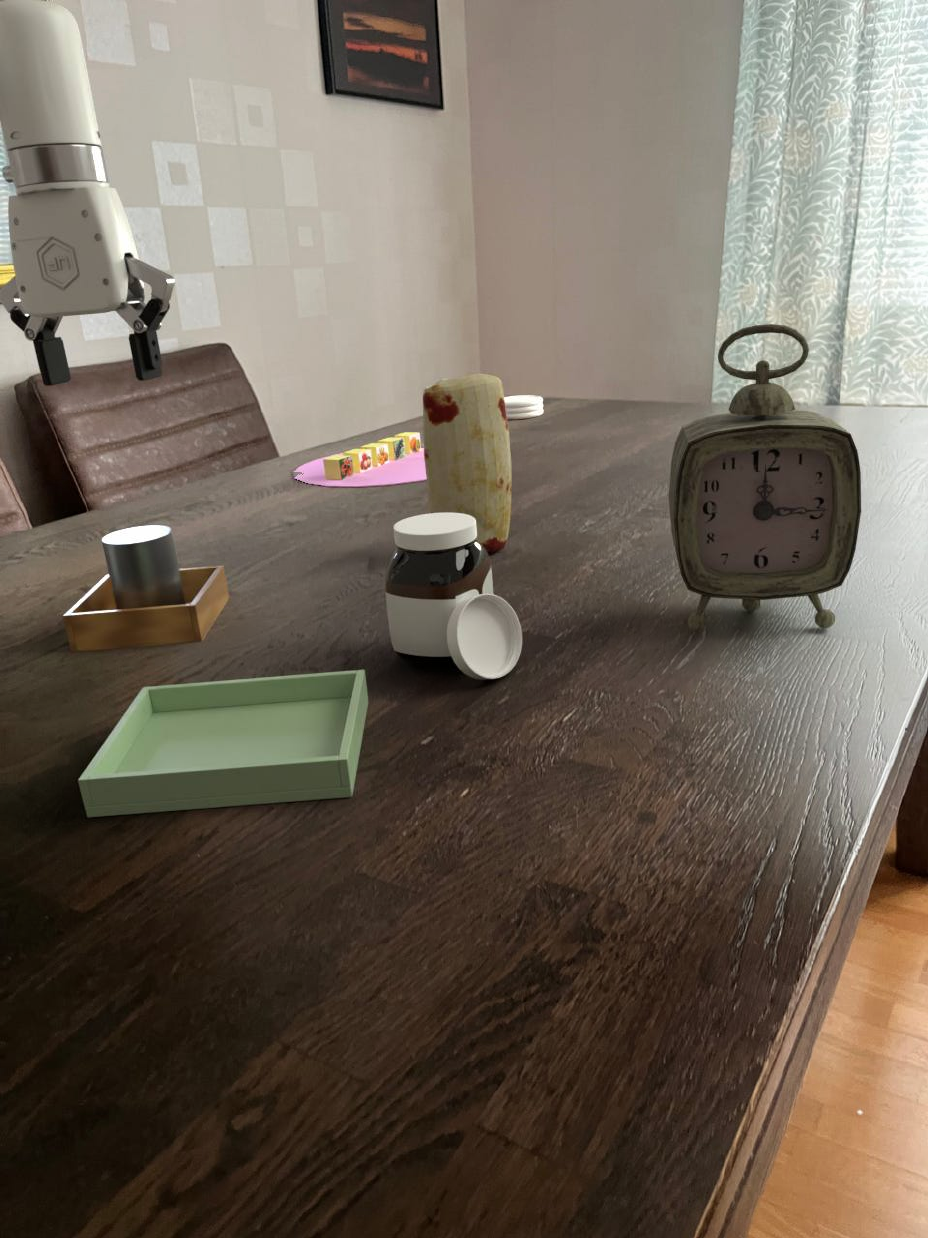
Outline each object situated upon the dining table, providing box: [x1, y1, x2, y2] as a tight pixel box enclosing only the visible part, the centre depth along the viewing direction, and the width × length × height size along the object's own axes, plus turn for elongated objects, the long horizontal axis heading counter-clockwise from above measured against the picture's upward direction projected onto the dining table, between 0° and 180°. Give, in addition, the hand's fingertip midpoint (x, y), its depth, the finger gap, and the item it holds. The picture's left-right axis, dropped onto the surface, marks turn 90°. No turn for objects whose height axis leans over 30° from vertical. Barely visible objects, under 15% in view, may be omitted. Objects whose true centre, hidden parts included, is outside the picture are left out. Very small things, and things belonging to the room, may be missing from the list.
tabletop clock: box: [668, 323, 862, 632], centre depth 81 cm, size 14×9×25 cm, turn 82°
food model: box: [422, 373, 513, 554], centre depth 107 cm, size 10×7×20 cm
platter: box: [293, 431, 427, 488], centre depth 162 cm, size 32×32×3 cm
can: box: [101, 524, 186, 610], centre depth 93 cm, size 6×6×9 cm
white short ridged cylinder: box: [504, 394, 544, 420], centre depth 199 cm, size 10×10×4 cm
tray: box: [77, 669, 369, 818], centre depth 68 cm, size 17×14×3 cm
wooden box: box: [62, 564, 230, 653], centre depth 94 cm, size 12×12×4 cm
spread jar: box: [384, 512, 523, 681], centre depth 80 cm, size 12×11×12 cm
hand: (103, 381), depth 88 cm, fingers open, 9 cm apart
